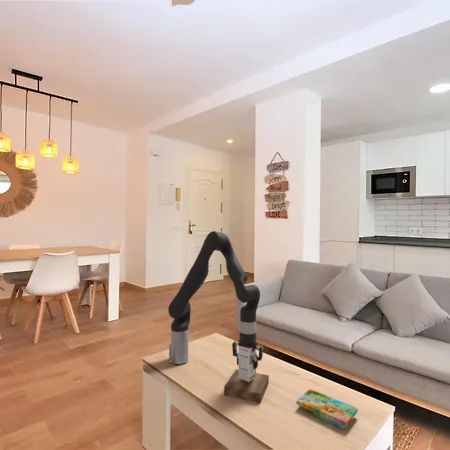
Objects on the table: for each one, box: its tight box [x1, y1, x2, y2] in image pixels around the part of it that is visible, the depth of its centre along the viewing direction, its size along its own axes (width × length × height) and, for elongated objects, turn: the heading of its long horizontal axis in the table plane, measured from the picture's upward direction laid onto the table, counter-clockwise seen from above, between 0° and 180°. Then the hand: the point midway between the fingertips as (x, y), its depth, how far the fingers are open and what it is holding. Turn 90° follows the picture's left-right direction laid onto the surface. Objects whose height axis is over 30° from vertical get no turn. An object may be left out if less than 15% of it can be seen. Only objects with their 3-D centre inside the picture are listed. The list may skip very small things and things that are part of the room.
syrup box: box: [238, 345, 257, 382], centre depth 138 cm, size 6×6×14 cm
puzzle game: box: [295, 388, 359, 430], centre depth 122 cm, size 12×5×20 cm
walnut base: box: [223, 368, 270, 404], centre depth 138 cm, size 16×16×4 cm
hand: (247, 366), depth 138 cm, fingers closed on syrup box, 6 cm apart
